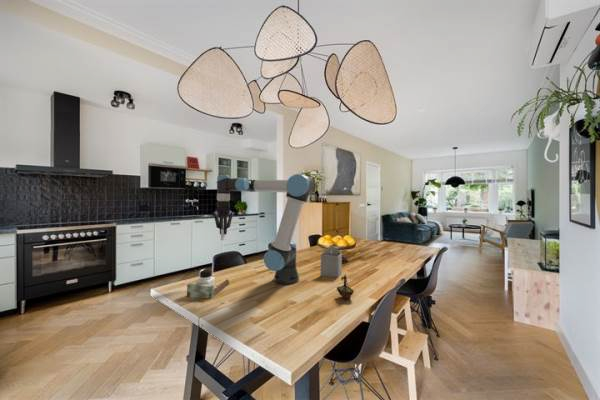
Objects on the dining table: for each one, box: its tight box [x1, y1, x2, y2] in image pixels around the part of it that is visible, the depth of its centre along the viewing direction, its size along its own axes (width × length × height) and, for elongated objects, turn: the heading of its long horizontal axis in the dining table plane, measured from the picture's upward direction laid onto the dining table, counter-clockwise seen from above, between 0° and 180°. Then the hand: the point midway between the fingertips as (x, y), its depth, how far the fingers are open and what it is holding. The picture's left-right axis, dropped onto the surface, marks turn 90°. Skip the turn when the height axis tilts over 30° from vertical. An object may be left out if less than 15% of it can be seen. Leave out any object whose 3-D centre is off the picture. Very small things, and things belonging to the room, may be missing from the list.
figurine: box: [336, 274, 355, 300], centre depth 120 cm, size 10×8×12 cm
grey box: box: [320, 244, 343, 279], centre depth 154 cm, size 16×8×19 cm, turn 116°
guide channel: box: [186, 279, 230, 299], centre depth 128 cm, size 13×20×6 cm, turn 172°
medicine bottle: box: [195, 268, 216, 289], centre depth 125 cm, size 7×7×12 cm
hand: (223, 239), depth 144 cm, fingers closed
